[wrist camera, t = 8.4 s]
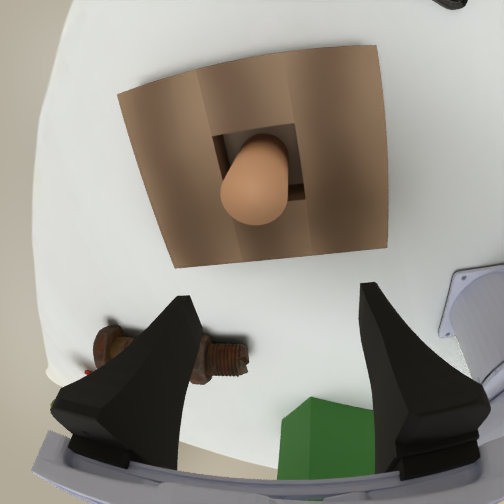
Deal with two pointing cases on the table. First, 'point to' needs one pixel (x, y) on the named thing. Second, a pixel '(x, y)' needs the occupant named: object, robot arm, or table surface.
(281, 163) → the pin
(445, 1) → the phone
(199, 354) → the bolt
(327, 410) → the hardback book
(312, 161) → the board
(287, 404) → the table surface
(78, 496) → the robot arm
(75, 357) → the table surface
